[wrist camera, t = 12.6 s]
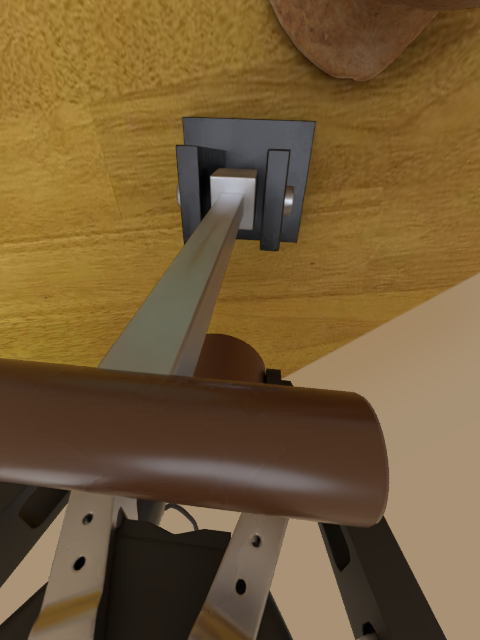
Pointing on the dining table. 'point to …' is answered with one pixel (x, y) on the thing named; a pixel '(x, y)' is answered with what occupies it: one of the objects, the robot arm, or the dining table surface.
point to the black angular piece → (247, 153)
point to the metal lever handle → (193, 408)
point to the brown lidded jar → (229, 360)
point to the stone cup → (358, 30)
